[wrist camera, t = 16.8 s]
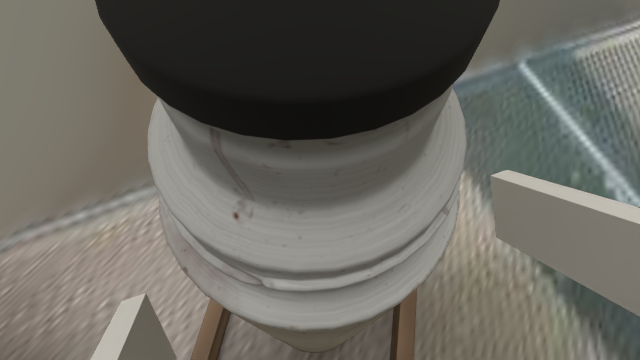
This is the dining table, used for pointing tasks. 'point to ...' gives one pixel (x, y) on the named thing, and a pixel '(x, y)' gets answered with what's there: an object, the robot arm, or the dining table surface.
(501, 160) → the dining table surface
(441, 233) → the thermos bottle
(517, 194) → the robot arm
